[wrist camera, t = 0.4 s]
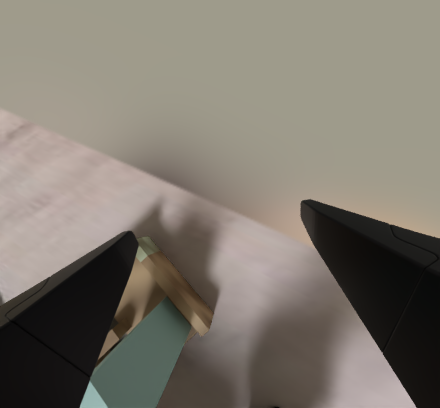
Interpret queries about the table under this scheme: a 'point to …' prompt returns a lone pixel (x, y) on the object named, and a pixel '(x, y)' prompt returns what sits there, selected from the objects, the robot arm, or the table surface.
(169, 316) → the block
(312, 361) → the table surface
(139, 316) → the trap channel
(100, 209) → the table surface
